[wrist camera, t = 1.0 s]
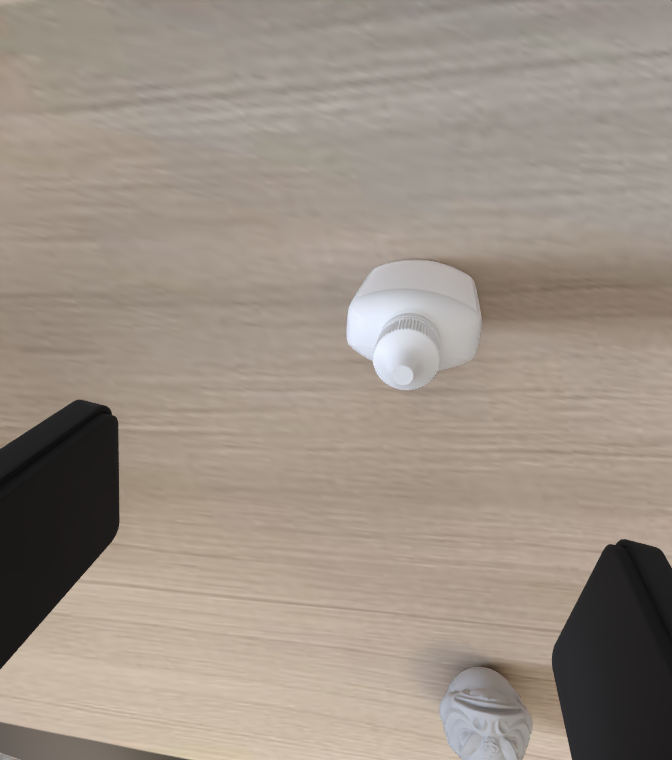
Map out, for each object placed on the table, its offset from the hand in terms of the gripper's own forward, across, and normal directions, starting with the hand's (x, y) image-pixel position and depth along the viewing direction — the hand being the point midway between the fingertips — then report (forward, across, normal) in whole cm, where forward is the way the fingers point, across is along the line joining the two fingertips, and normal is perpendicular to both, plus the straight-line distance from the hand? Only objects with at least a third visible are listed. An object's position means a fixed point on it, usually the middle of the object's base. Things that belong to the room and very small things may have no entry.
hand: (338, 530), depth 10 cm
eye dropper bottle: (+20, -1, 0) cm, 20 cm away
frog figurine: (+20, -12, +27) cm, 36 cm away
